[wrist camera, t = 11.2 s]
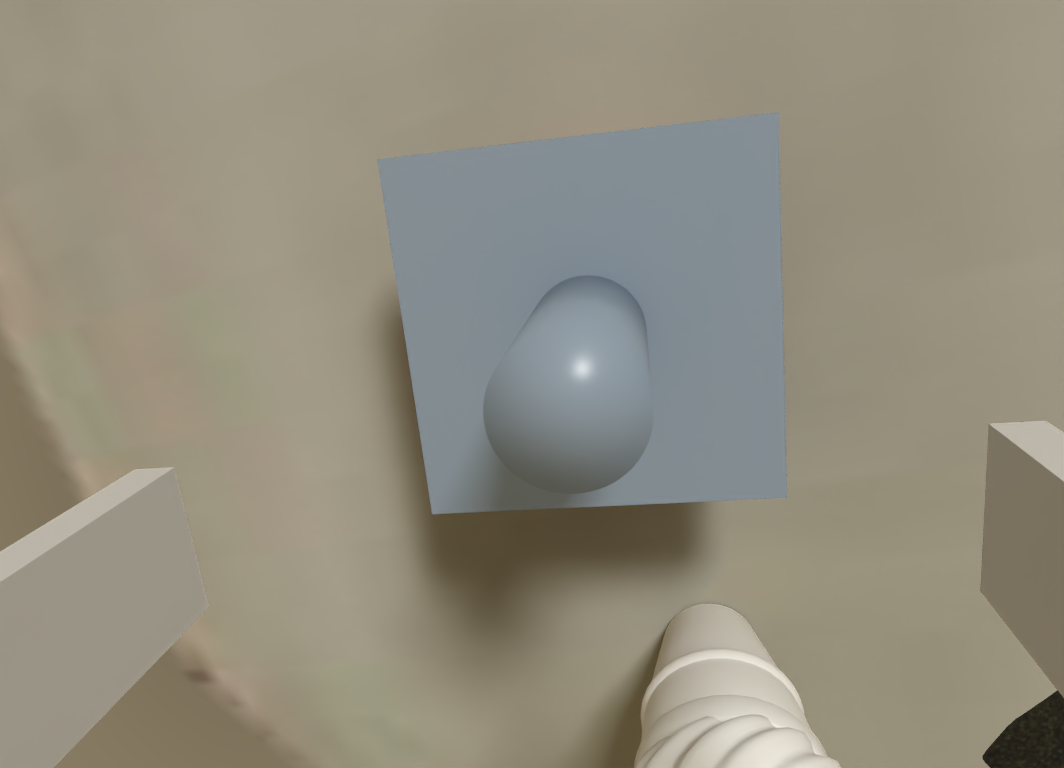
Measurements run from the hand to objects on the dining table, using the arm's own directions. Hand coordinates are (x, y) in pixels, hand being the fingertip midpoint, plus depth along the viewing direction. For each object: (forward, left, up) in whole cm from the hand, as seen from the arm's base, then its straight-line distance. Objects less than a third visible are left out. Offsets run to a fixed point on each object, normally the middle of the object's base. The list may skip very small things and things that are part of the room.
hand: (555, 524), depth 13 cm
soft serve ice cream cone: (-4, +17, -22) cm, 28 cm away
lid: (0, 0, -16) cm, 16 cm away
